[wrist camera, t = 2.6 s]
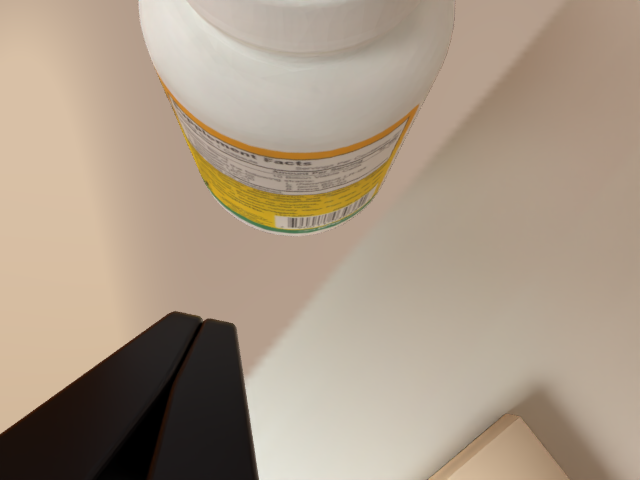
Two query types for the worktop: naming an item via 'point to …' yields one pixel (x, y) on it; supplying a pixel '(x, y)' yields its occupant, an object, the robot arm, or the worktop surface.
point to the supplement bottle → (296, 97)
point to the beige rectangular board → (503, 456)
